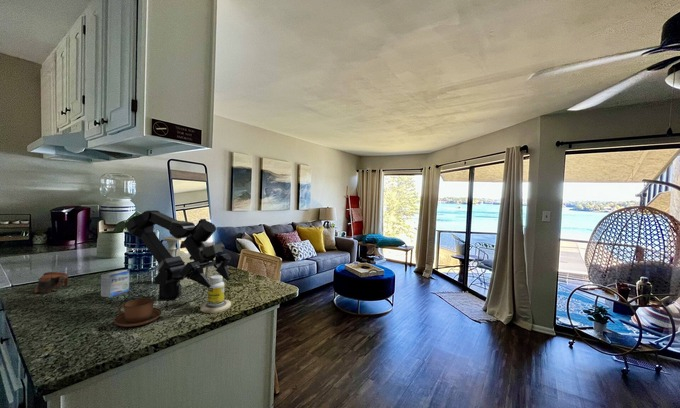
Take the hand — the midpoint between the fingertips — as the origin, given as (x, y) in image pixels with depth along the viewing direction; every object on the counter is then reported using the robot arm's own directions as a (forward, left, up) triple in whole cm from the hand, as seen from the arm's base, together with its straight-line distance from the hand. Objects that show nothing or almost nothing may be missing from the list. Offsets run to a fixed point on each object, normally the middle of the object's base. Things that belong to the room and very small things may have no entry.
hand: (219, 283), depth 98 cm
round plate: (-1, +1, -9) cm, 9 cm away
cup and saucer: (-22, -8, -9) cm, 25 cm away
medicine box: (-43, +19, -9) cm, 48 cm away
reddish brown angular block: (-69, +26, -9) cm, 74 cm away
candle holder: (-29, +35, -9) cm, 46 cm away
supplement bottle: (-1, +1, -8) cm, 8 cm away
